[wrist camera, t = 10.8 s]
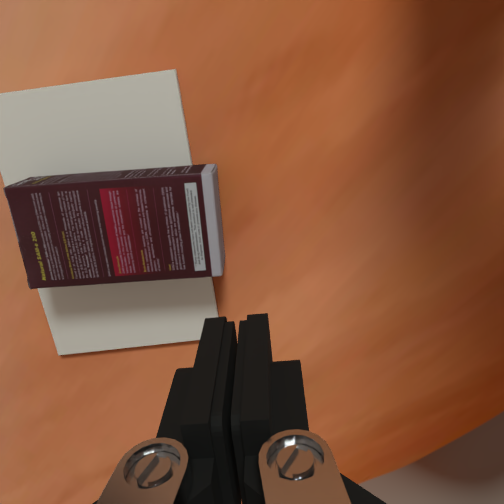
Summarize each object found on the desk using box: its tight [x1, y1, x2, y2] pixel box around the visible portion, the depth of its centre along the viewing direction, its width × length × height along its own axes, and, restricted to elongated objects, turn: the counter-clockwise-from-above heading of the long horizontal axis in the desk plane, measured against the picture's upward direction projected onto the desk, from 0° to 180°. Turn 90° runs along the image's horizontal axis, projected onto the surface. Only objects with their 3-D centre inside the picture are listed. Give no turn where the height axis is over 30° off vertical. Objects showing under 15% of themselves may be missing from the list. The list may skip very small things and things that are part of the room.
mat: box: [0, 69, 219, 355], centre depth 40 cm, size 16×24×1 cm, turn 7°
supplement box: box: [4, 164, 225, 289], centre depth 37 cm, size 9×5×16 cm
